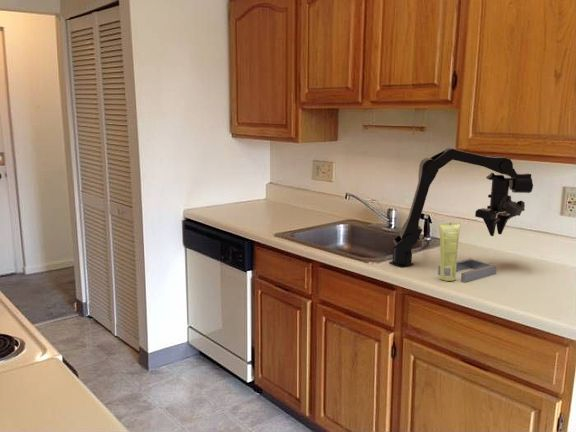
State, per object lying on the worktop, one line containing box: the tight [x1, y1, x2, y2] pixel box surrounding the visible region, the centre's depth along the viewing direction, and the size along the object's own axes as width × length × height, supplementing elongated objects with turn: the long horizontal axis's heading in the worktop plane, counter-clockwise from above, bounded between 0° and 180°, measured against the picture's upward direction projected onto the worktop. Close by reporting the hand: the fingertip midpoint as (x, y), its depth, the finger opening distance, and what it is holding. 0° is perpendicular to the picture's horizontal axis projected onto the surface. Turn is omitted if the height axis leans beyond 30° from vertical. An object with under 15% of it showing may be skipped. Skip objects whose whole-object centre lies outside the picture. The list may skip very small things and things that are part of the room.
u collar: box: [437, 257, 498, 284], centre depth 185 cm, size 11×18×3 cm, turn 125°
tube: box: [438, 221, 462, 282], centre depth 177 cm, size 6×5×20 cm
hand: (495, 235), depth 191 cm, fingers open, 4 cm apart
